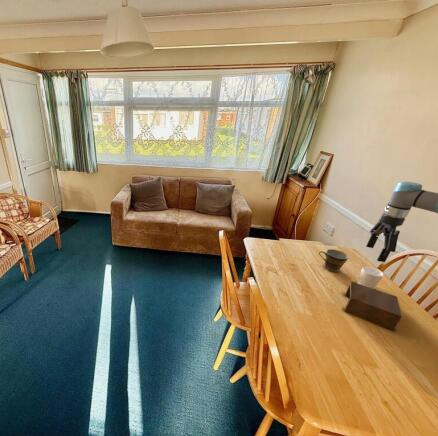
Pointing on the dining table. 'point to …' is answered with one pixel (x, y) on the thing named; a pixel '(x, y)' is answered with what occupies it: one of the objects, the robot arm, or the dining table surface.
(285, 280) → the dining table surface
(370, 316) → the dark brown wooden box
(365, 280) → the white cup
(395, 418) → the dining table surface
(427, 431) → the dining table surface
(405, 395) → the dining table surface
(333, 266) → the ceramic cup
